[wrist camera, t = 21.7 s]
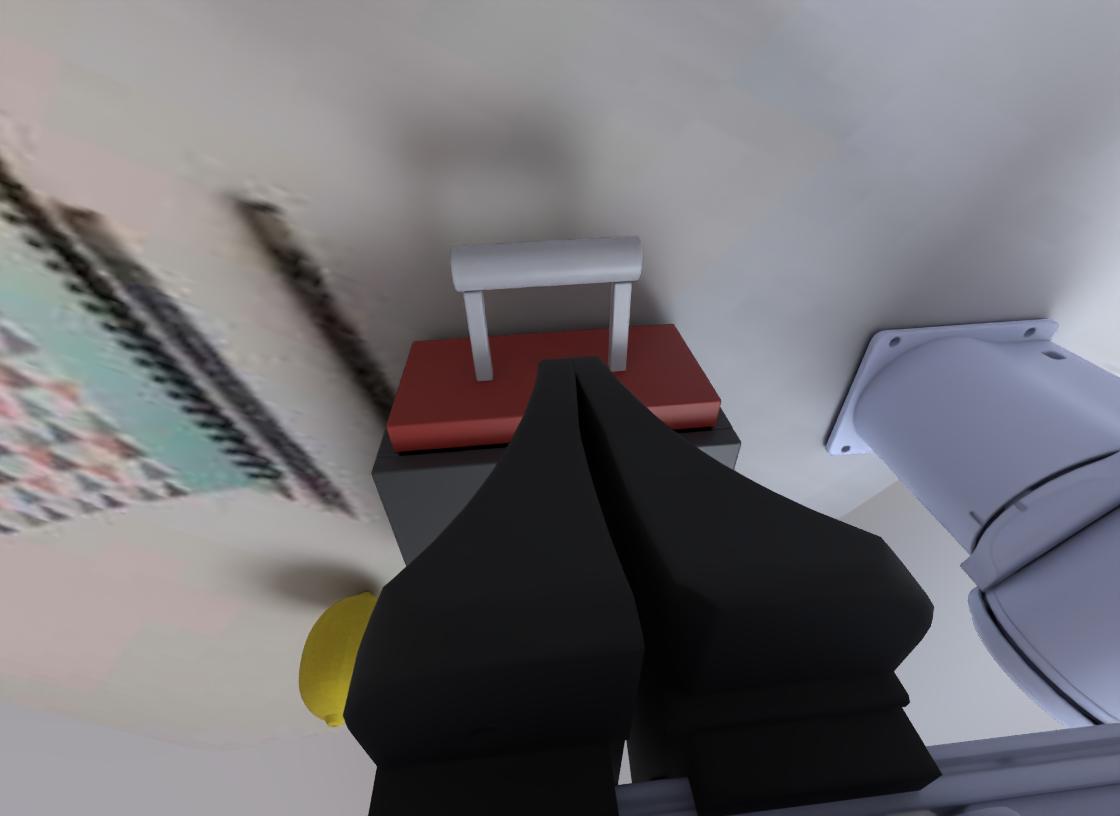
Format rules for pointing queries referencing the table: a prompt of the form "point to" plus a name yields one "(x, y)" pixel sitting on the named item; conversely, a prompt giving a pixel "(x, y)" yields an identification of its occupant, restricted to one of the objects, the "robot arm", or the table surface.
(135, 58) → the table surface
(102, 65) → the table surface
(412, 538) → the dark grey box
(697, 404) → the drawer
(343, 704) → the lemon
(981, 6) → the table surface
